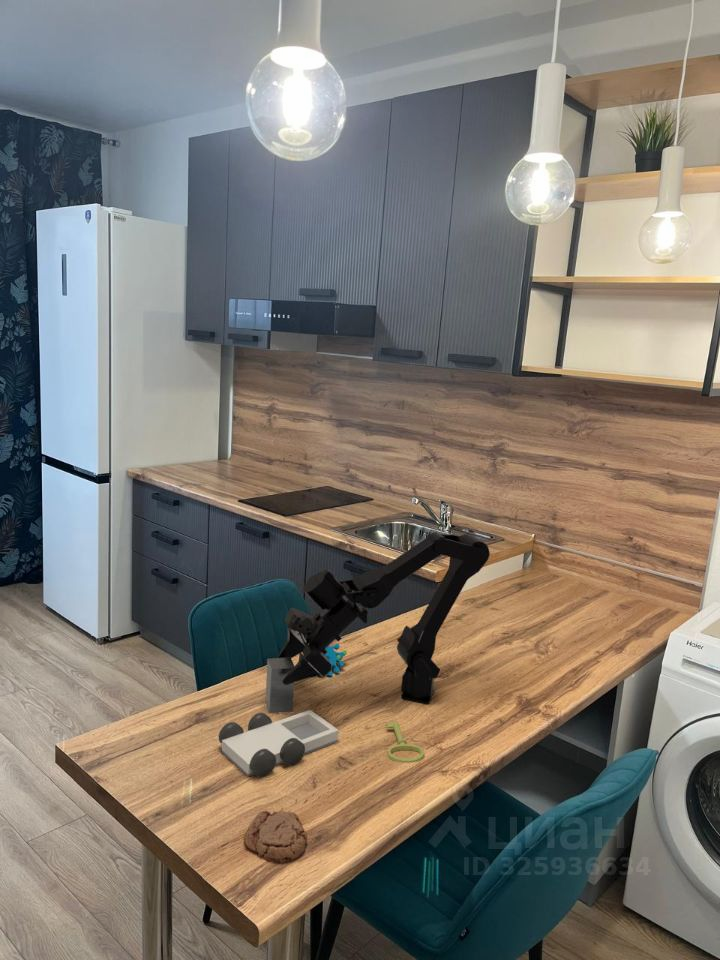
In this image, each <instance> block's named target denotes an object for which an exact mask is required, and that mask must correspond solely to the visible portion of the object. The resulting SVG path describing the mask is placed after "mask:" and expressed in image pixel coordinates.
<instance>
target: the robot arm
mask: <svg viewBox="0 0 720 960" xmlns="http://www.w3.org/2000/svg"><path fill="white" fill-rule="evenodd" d="M490 554H491V553H490V548H489V547H488V545H487V544H486V543H485V542H484V541H482V540H481V539H479V538H477V537H476V536H475V535H473V534H470V533H465V534H462V535H455V534H452V533H451V534H450V533H448V534H443V533H440V532H432V533H429V534H428V535H427V536H426V538H425V539H423V540H421V541H420V542H419V543H417V544H416V545H414V546H412V547H410V548H409V549H408V550H407V551H405V552H404V553H402V554H400V555H399V556H397V557H396V558H394V559H393V560H392V561H389V563H387V564H386V565H384V566H381V567H379V568H374V569H370V570H368V571H365V572H363V573H361V574H359V575H358V576H356V577H355V578H351V579H347V580H346V579H345V580H339V581H338V579H336V578H335V576H334V575H333V573H332V572H331V571H330V570H329V569H328V568H325V569H324V570H323V571H322V572H321V571H320V572H317V573H315V574H314V575H312V576H310V577H309V578H308V580H306V581H305V583H304V585H303V588H302V591H303V593H304V594H306V596H308V597H309V598H310V600H312V602H314V603H315V605H317V606H318V607H319V609H321V610H325V612H323V613H322V614H321V613H320V612H319V613H318V612H317V613H315V614H314V615H313V616H312V615H309V613H306V612H304V611H301V610H299V609H297V608H294V607H291V608H290V609H289V610H288V613H287V615H286V617H285V619H284V623H286V627H287V639H286V641H285V642H284V645H283V647H282V648H281V649H280V652H279V653H278V655H277V657H276V658H289V657H291V659H292V658H294V657H296V656H298V662H297V663H296V664H294V668H293V669H292V670H291V671H290V672H289V673H288V675H287V676H286V677H285V678H284V680H283V683H284V684H285V685H288V684H291V683H294V684H295V683H297V682H300V681H303V680H306V679H310V678H315V677H318V678H319V677H321V676H322V677H324V678H325V677H327V676H326V675H327V674H328V673H329V672H330V671H331V670H332V668H331V666H332V665H331V663H330V661H329V659H328V658H327V657H326V656H325V654H326V653H327V650H326V648H327V647H328V646H331V644H332V643H333V642H334V641H337V642H340V641H341V640H342V637H341V635H342V634H343V632H345V631H346V630H347V629H348V628H349V627H351V625H353V623H355V622H356V621H357V620H358V619H360V621H361V622H362V623H363V624H365V625H366V624H368V613H369V610H368V609H371V610H372V609H375V608H376V607H378V606H380V605H381V604H382V603H383V602H384V601H385V600H386V599H387V598H389V596H390V595H391V594H392V592H393V590H394V588H395V587H396V586H397V585H398V584H399V583H402V581H404V580H405V579H407V578H408V577H410V576H411V575H413V574H414V573H416V572H418V571H419V570H420V569H422V568H423V567H425V566H426V565H428V564H429V563H431V562H432V561H434V560H436V559H437V558H438V557H439V556H446V557H449V564H448V569H447V571H446V573H445V575H444V576H443V578H442V580H440V581H441V582H440V583H439V585H438V586H437V589H436V591H435V593H434V594H433V596H432V598H431V600H430V601H429V602H428V605H427V606H426V608H425V609H424V611H423V613H422V616H421V617H420V618H419V620H418V621H417V623H416V624H415V625H413V626H411V627H409V626H408V625H405V627H404V628H403V631H402V633H401V634H400V636H399V637H398V638H397V639H396V641H397V642H398V643H397V645H396V650H397V654H398V655H399V656H400V658H401V659H402V660H403V662H404V663H405V664H406V669H405V670H404V672H403V674H402V677H401V687H400V692H401V693H402V694H401V695H400V696H401V699H403V700H407V701H412V702H416V703H422V704H426V705H427V704H428V705H429V704H430V703H431V701H432V698H433V696H434V694H435V689H434V685H435V684H434V683H435V679H437V678H438V676H439V673H440V671H441V668H440V667H439V666H438V665H437V663H435V661H434V660H433V659H432V658H433V656H434V653H435V651H436V650H435V648H436V642H437V640H436V639H437V635H438V633H439V632H440V629H441V628H442V626H443V624H444V623H445V621H446V619H447V616H448V615H449V613H450V611H451V610H452V608H453V606H454V605H455V603H456V601H457V599H458V598H459V595H460V594H461V592H462V591H463V588H464V587H465V585H466V584H467V581H469V579H470V578H472V577H473V576H475V575H476V574H478V573H479V572H480V571H481V569H483V567H484V566H485V565H486V564H487V562H488V561H489V558H490ZM344 596H345V597H344ZM346 598H347V599H346ZM359 604H360V605H361V606H362V607H361V606H359ZM332 667H333V666H332Z"/></svg>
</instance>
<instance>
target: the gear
mask: <svg viewBox="0 0 720 960" xmlns="http://www.w3.org/2000/svg"><path fill="white" fill-rule="evenodd" d="M340 648H341V647H340V644H339V643H335V644H334V645H329V646H328V647H327V648H326V650H327V653H326V654H325V656H326V657H327V658H328V659H329V661H330V663H331V665H332V666H331V671H330V672H329V673H328V674H327V675H326V676H325V677H328V678H329V677H330V678H331V677H332V676H333V673H334V674H335V675H337V674H339V673H340V672H341V670H340V668H342V667H343V666H344V664H345V662H344V661H342V659H343V658H344V657H345V656H346V655H348V651H347V650H343V651H340V652H338V650H339V649H340ZM332 667H333V670H332Z"/></svg>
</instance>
